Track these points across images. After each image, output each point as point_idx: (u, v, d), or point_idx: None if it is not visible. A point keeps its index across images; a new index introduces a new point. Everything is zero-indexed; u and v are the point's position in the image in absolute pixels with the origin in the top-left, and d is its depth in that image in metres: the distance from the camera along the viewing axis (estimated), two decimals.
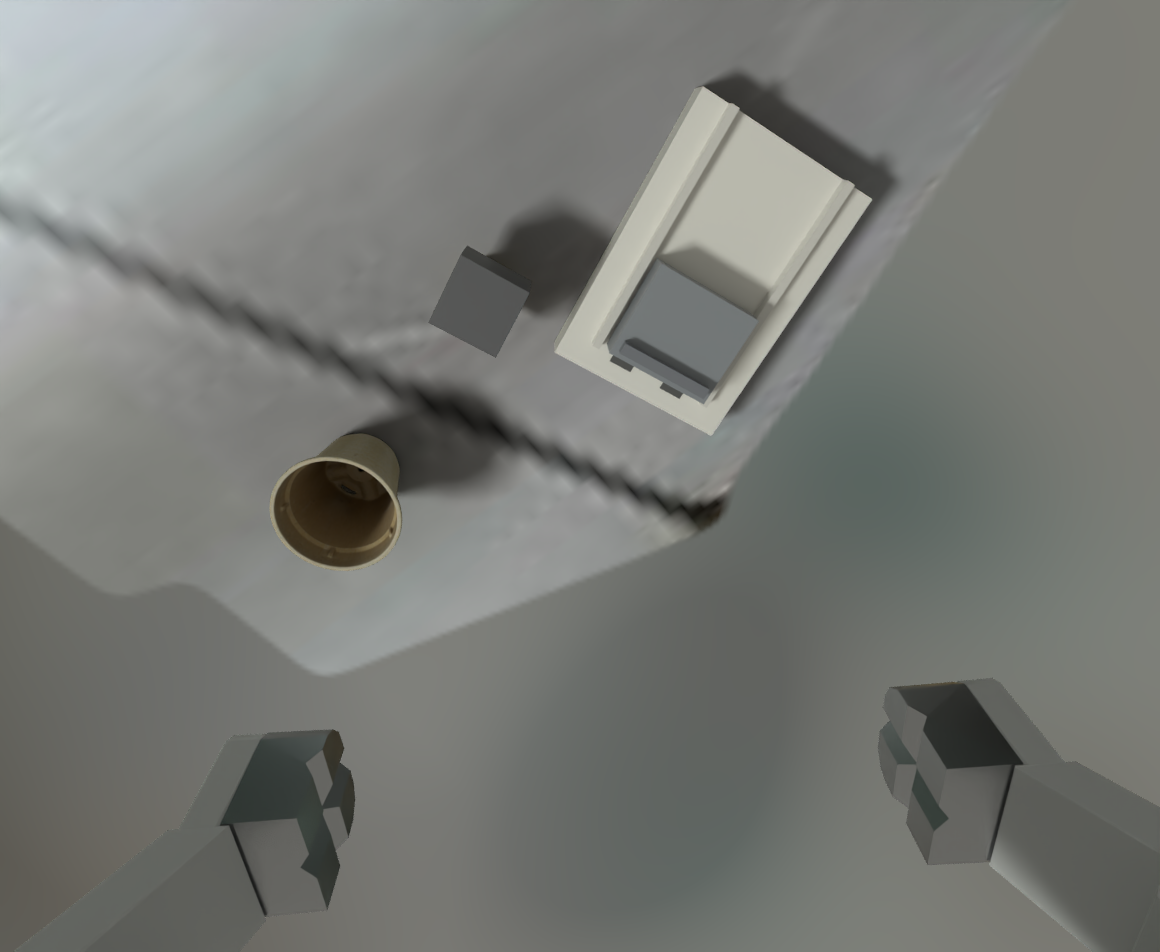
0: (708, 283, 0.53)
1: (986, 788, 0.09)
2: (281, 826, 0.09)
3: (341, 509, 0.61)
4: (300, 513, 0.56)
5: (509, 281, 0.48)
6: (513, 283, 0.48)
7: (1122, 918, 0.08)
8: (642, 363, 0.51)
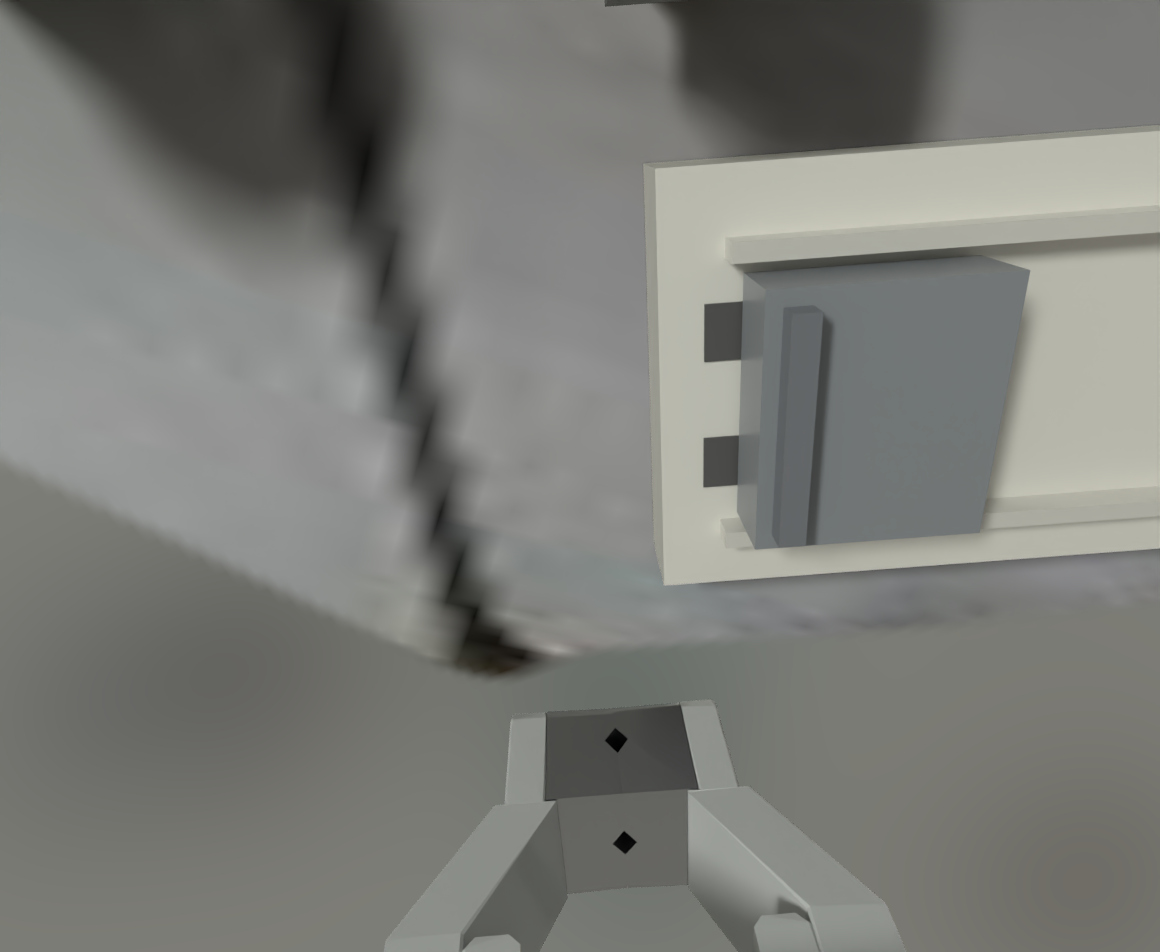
0: None
1: (667, 812, 0.09)
2: (605, 802, 0.09)
3: None
4: None
5: None
6: None
7: None
8: (794, 379, 0.20)
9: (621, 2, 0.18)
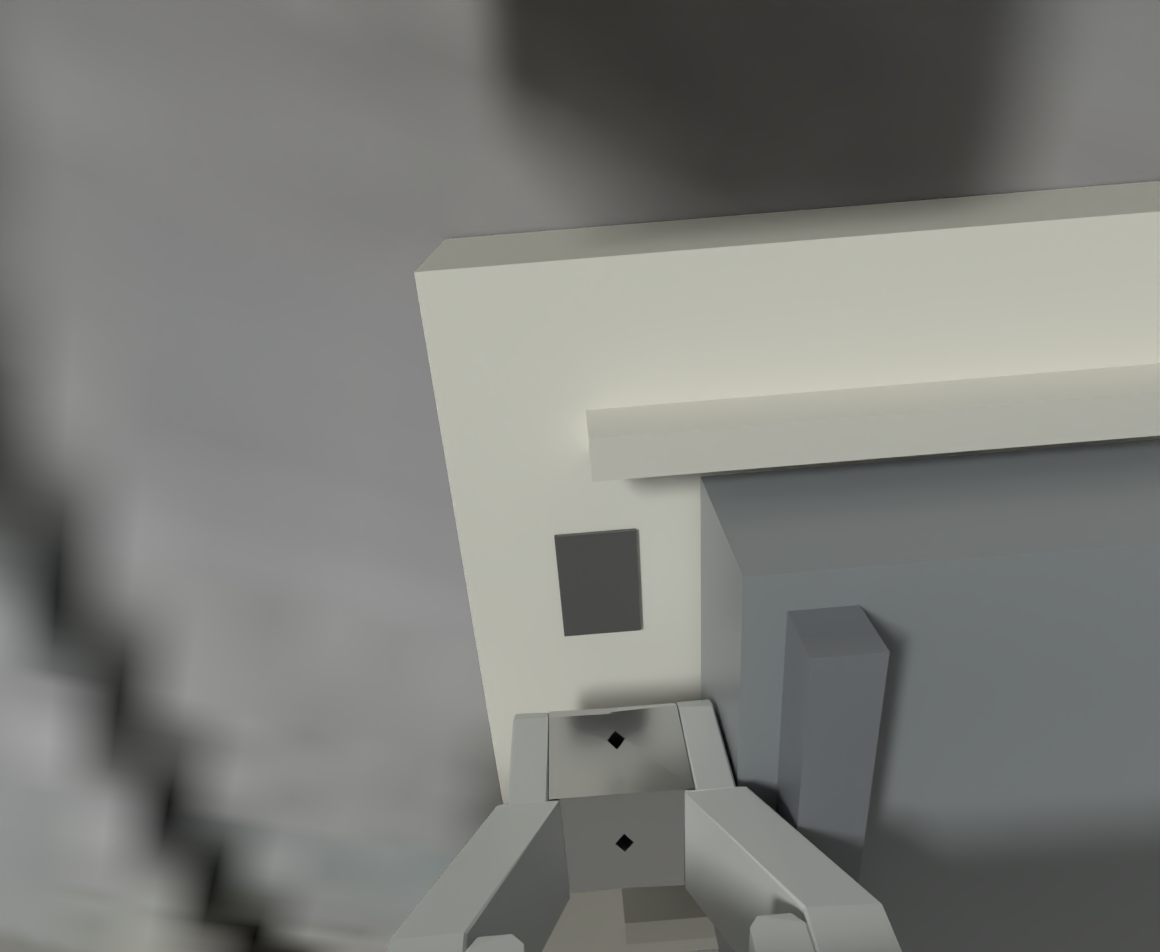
0: None
1: (663, 813, 0.09)
2: (607, 802, 0.09)
3: None
4: None
5: None
6: None
7: None
8: (813, 782, 0.08)
9: None
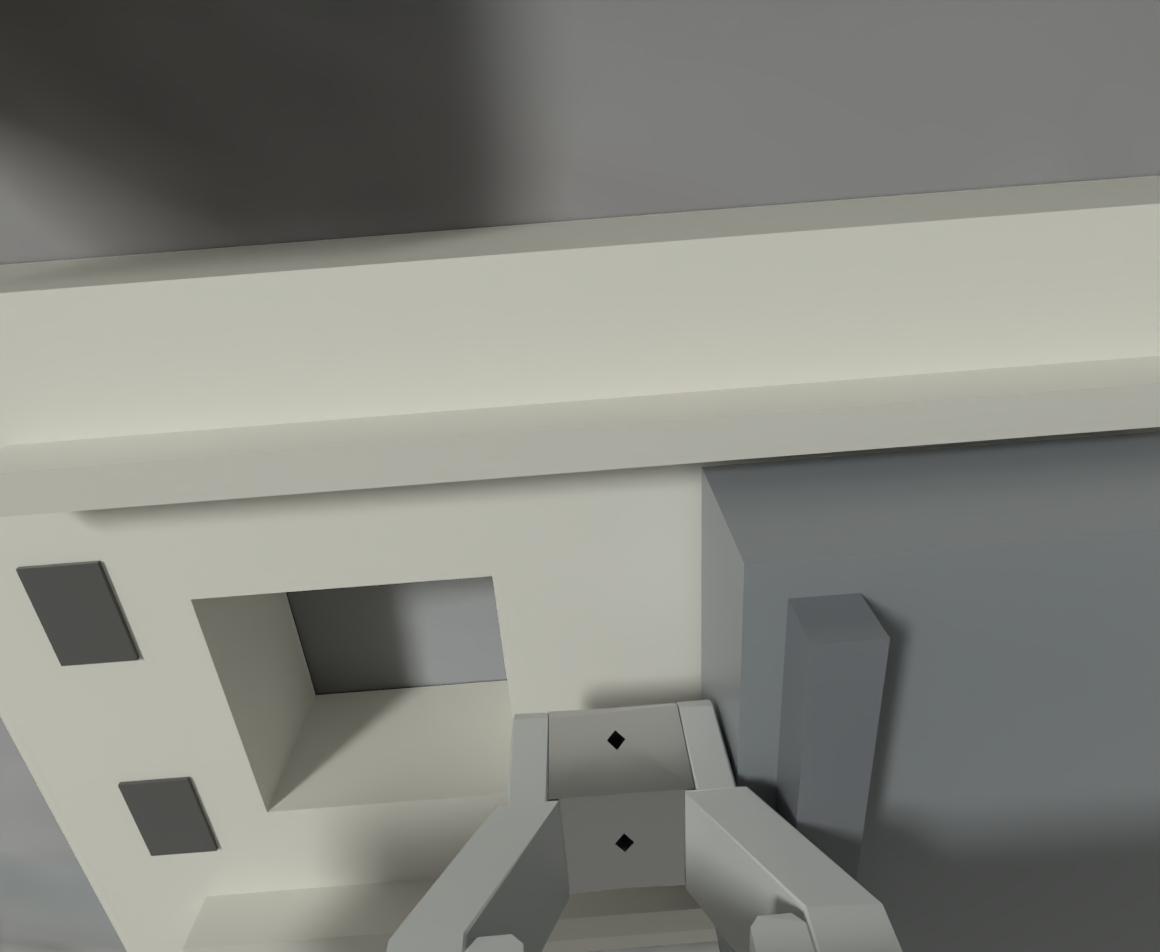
0: (595, 697, 0.12)
1: (663, 812, 0.09)
2: (606, 801, 0.09)
3: None
4: None
5: None
6: None
7: None
8: (813, 769, 0.08)
9: None
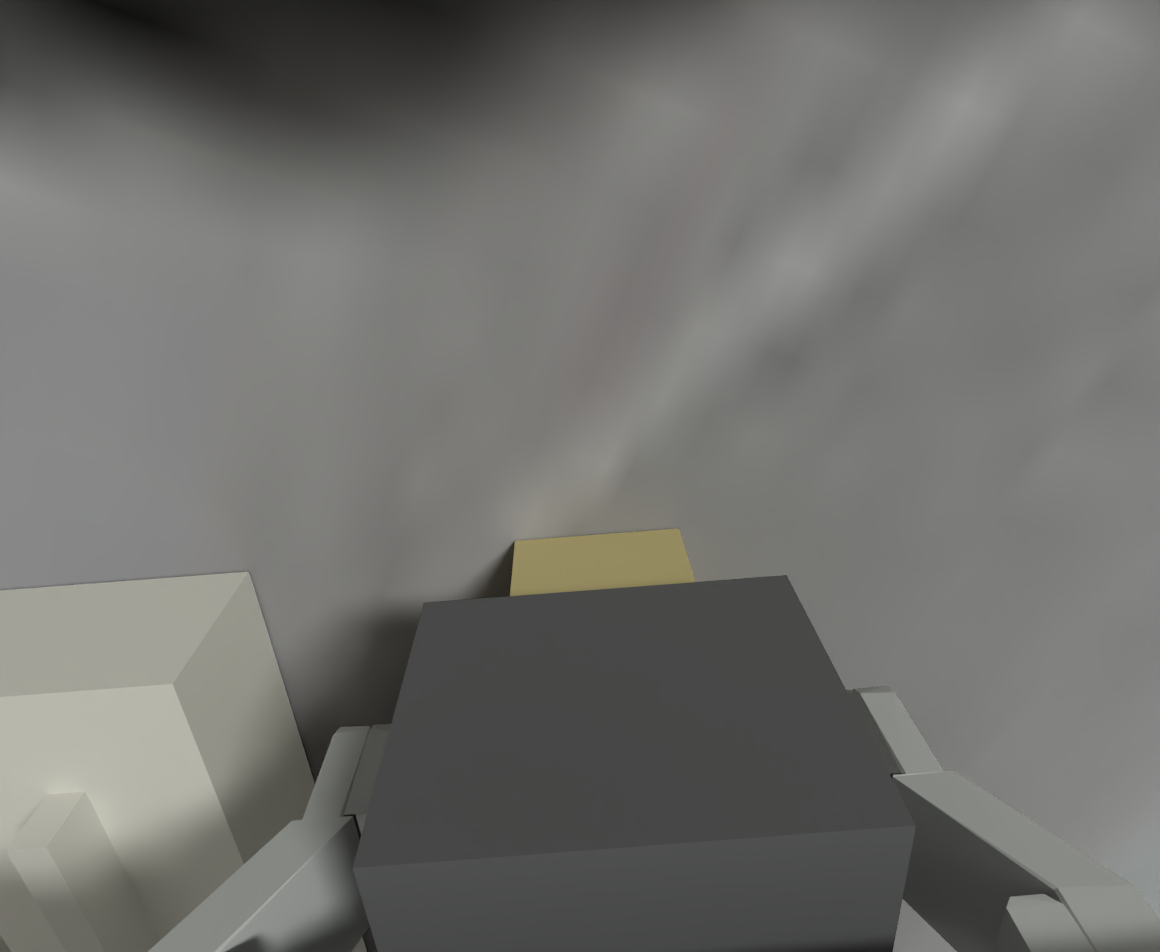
0: None
1: None
2: None
3: None
4: None
5: None
6: None
7: (990, 928, 0.08)
8: None
9: None
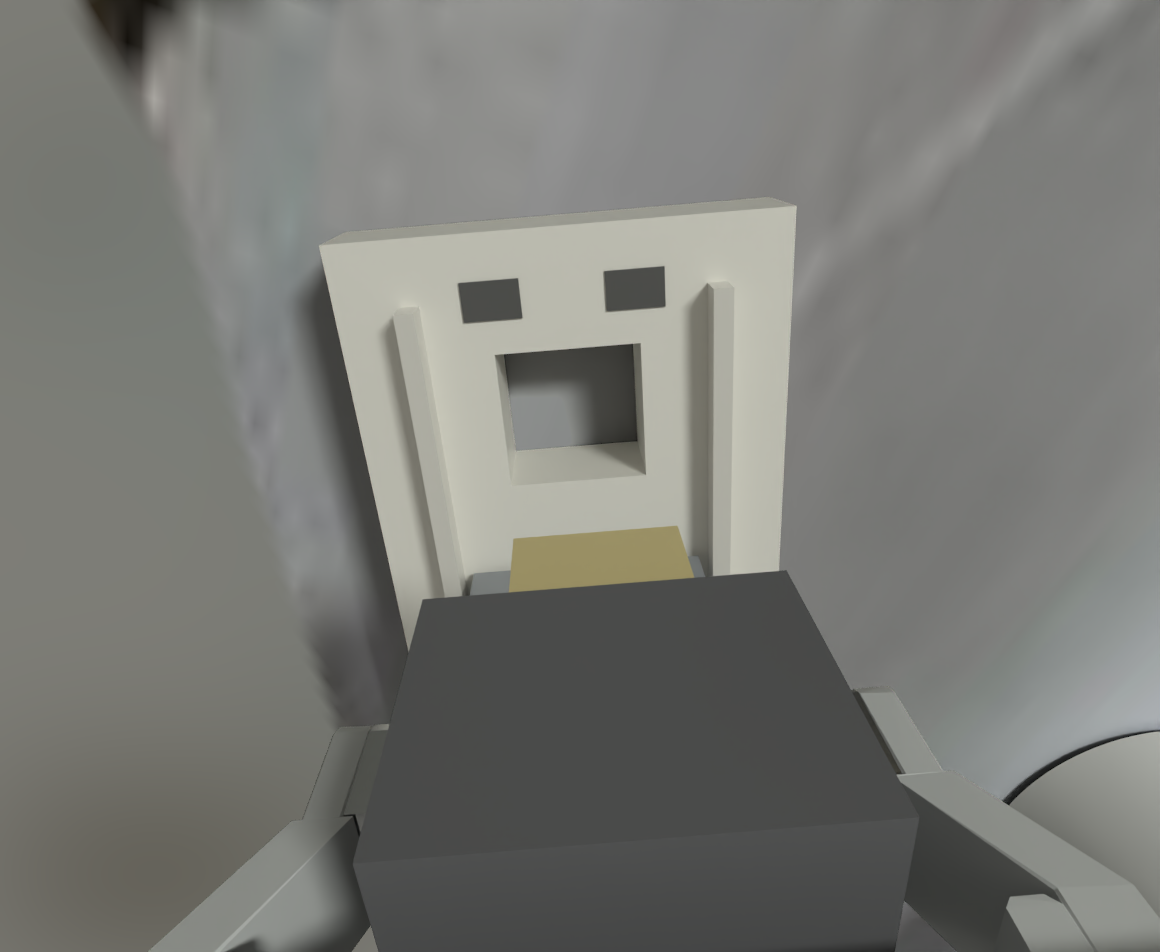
0: (574, 517, 0.26)
1: None
2: None
3: None
4: None
5: None
6: None
7: (990, 928, 0.08)
8: None
9: None
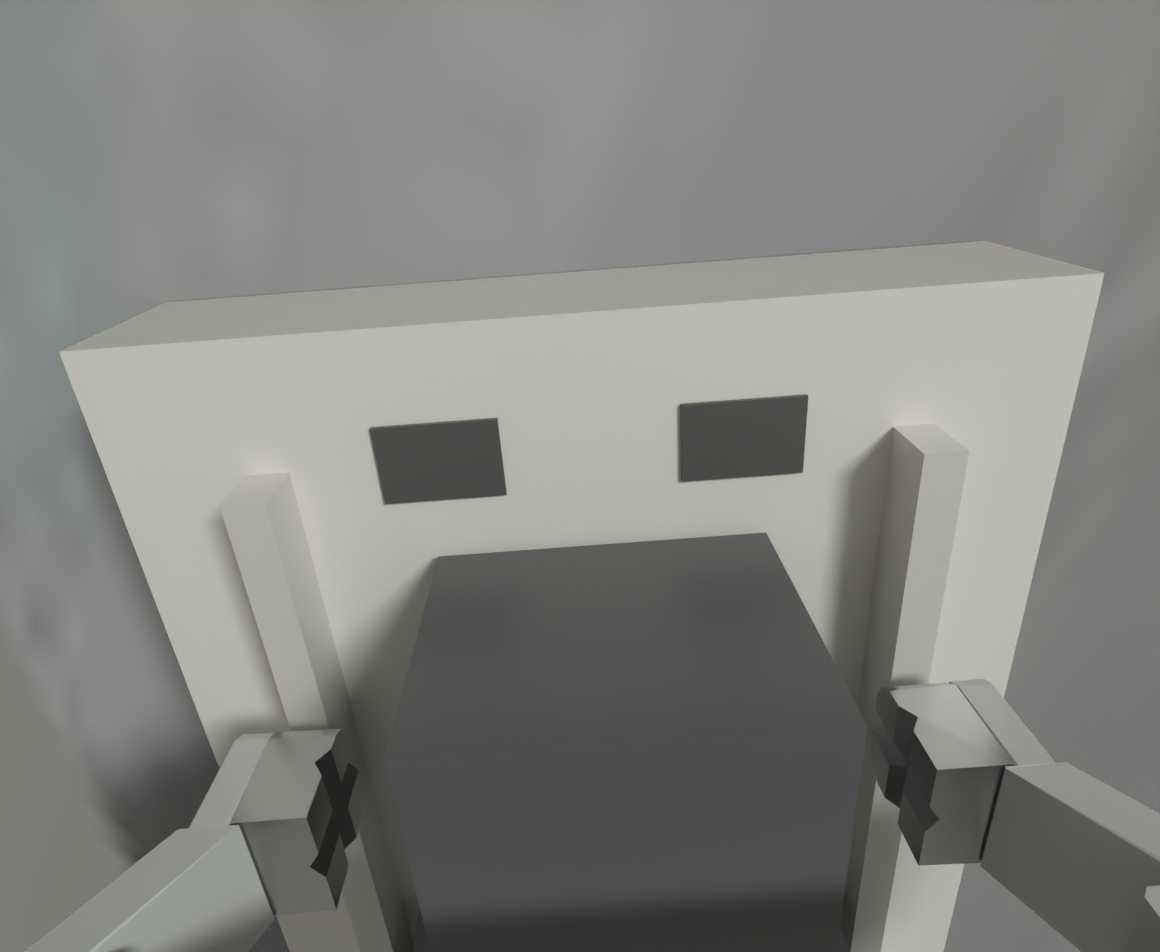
0: None
1: (976, 789, 0.09)
2: (290, 827, 0.09)
3: None
4: None
5: None
6: None
7: (1111, 919, 0.08)
8: None
9: None
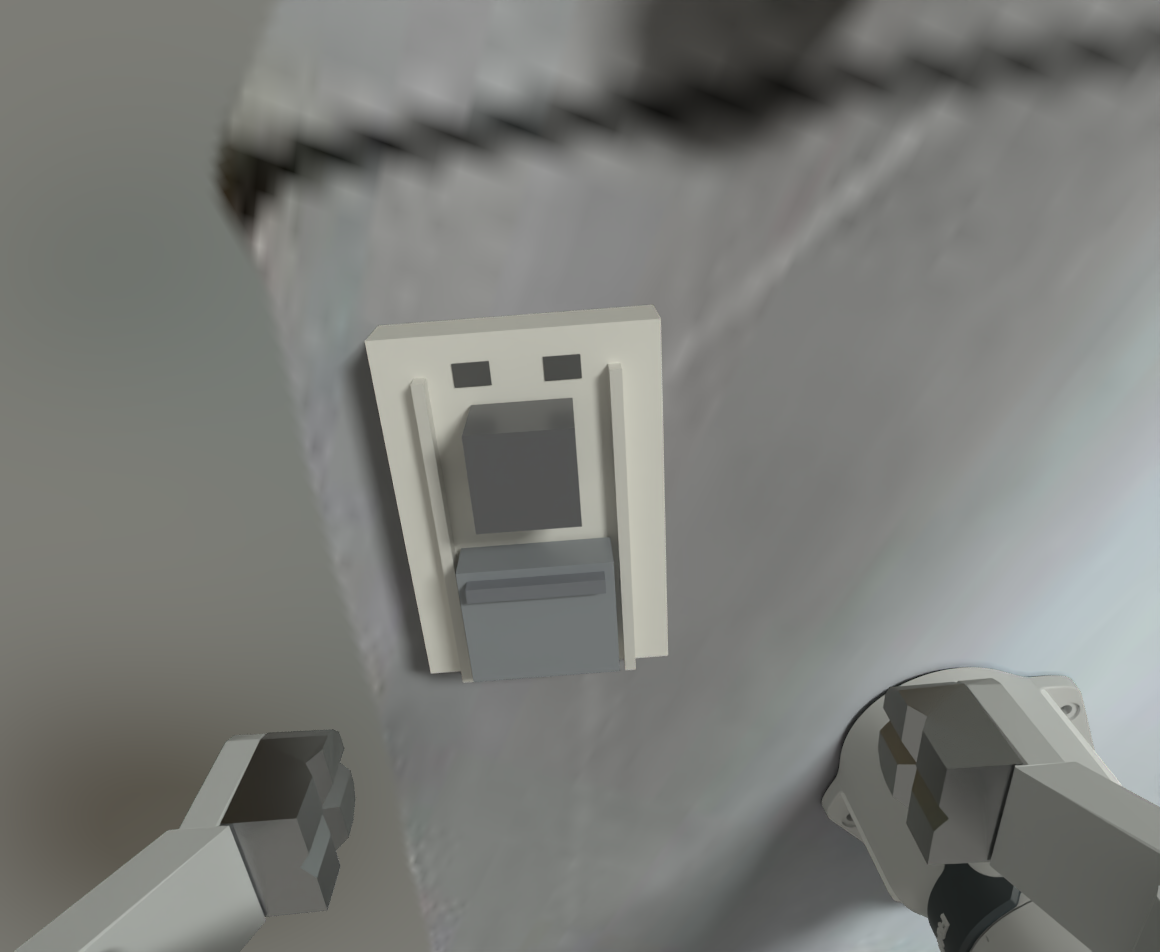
0: None
1: (986, 788, 0.09)
2: (280, 827, 0.09)
3: None
4: None
5: None
6: (502, 531, 0.35)
7: (1122, 918, 0.08)
8: (570, 585, 0.37)
9: None
